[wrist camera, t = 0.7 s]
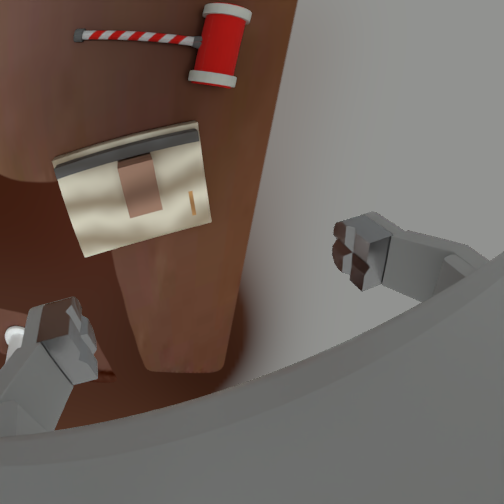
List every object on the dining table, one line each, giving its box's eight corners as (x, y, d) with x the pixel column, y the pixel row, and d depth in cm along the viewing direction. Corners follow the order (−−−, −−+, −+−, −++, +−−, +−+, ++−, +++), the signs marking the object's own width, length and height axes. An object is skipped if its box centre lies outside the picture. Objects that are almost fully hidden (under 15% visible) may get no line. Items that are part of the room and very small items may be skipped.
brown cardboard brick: (117, 158, 39) (117, 168, 35) (149, 150, 40) (152, 159, 36) (128, 203, 43) (130, 218, 39) (158, 195, 44) (162, 209, 40)
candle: (21, 320, 46) (6, 438, 27) (42, 343, 51) (38, 456, 31) (-1, 332, 45) (-19, 443, 26) (20, 354, 50) (13, 461, 30)
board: (54, 157, 37) (49, 165, 34) (194, 120, 42) (201, 124, 39) (85, 251, 46) (84, 264, 43) (208, 216, 52) (215, 227, 48)
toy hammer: (69, 77, 32) (60, 77, 27) (85, -2, 27) (79, -13, 22) (226, 88, 42) (241, 90, 37) (242, 16, 36) (259, 9, 31)
